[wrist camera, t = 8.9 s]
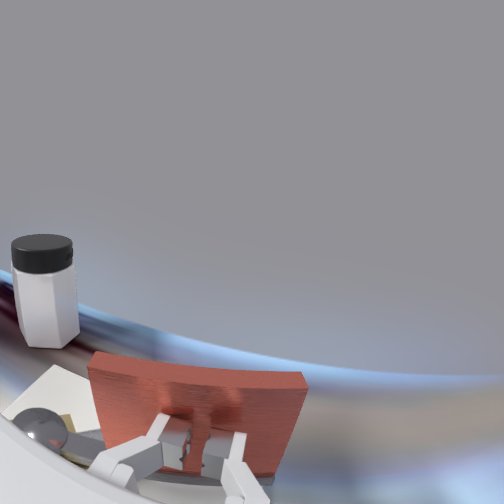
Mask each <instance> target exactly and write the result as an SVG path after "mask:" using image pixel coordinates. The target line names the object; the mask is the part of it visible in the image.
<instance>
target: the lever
mask: <svg viewBox="0 0 504 504" xmlns="http://www.w3.org/2000/svg"><path fill="white" fill-rule="evenodd" d="M87 369H88V375H89V380H90V385H91V390H92V395H93V400H94V404H95V408H96V412H97V416H98V420H99V424H100V428H101V432H102V435H103V438H104V441H100V440H97V439H93V438H89V437H86V436H82V435H79V434H75V433H72V432H69V431H68V430H67V427H66V424H65V422H64V421H63V419H62V418H61V417H60V416H59V415H58V414H57V413H55V412H53V411H51V410H49V409H46V408H39V407H38V408H29V409H26V410H23V411H21V412H20V413H19V414H17V415H16V416H15V418H14V419H13V421H12V423H13V424H14V425H16V426H17V427H18V428H20V429H21V430H22V431H24V432H25V433H26V434H28V435H29V436H30V437H32V438H33V439H35V440H36V441H38V442H39V443H41V444H42V445H44V446H45V447H47V448H48V449H50V450H51V451H53V452H54V453H56V454H58V455H59V456H61V457H63V458H64V459H67V460H70V461H73V462H77V463H80V464H83V465H86V466H91V464H92V463H93V461H94V460H95V459H96V457H97V456H98V454H99V453H100V452H102V451H105V450H108V449H110V448H113V447H116V446H118V445H121V444H123V443H126V442H128V441H130V440H133V439H135V438H138V437H140V436H146V434H147V433H148V431H149V429H150V427H151V426H152V424H153V422H154V420H155V419H156V417H157V415H158V414H159V413H163V414H167V415H170V416H173V417H176V418H180V419H183V420H186V421H190V422H193V423H194V429H193V432H192V433H193V434H194V436H193V443H192V447H191V450H190V453H188V454H187V460H186V463H185V466H184V468H183V471H182V470H178V469H174V468H171V467H167V466H164V465H163V467H161V468H160V469H158V470H157V471H155V472H153V473H152V474H150V475H148V476H147V477H145V478H143V479H147V480H154V481H161V482H168V483H177V484H187V485H200V486H222V484H221V480H217V479H213V478H209V477H205V476H201V467H202V464H203V463H202V455H203V450H204V447H205V444H206V441H208V438H209V432H210V429H211V427H215V428H220V429H225V430H230V431H235V432H241V433H246V434H247V438H246V444H245V449H244V455H243V460H242V462H246V464H247V465H248V467H249V469H250V470H251V472H252V473H253V475H254V476H255V478H256V480H257V481H258V483H259V484H260V486H268V485H272V483H273V481H274V478H275V476H274V474H275V472H276V470H277V468H278V465H279V463H280V461H281V459H282V456H283V454H284V452H285V449H286V447H287V444H288V442H289V439H290V437H291V434H292V432H293V429H294V427H295V424H296V422H297V419H298V416H299V414H300V411H301V408H302V406H303V403H304V400H305V397H306V395H307V392H308V389H309V388H308V385H307V383H306V381H305V379H304V377H303V375H302V373H301V372H275V371H247V370H230V369H217V368H205V367H195V366H186V365H177V364H170V363H162V362H155V361H149V360H142V359H136V358H130V357H125V356H119V355H114V354H109V353H104V352H99V351H96V352H95V353H94V355H93V357H92V359H91V360H90V362H89V364H88V366H87Z"/></svg>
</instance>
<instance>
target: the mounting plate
mask: <svg viewBox="0 0 504 504" xmlns="http://www.w3.org/2000/svg"><path fill="white" fill-rule="evenodd" d="M38 407H39V408H46V409H49V410H51V411H53V412H55V413H57V414H58V415H64V414H70V415H71V418H72V421H73V424H74V427H75V430H76V432H82V431H87V430H93V429H98V428H100V424H99V420H98V416H97V412H96V408H95V404H94V400H93V395H92V390H91V385H90V380H88V379H85V378H83V377H81V376H79V375H76V374H74V373H72V372H70V371H67V370H65V369H63V368H61V367H59V366H57V365H55V364H54V365H53V366H52V367H51V368H50V369H49V370H47V371H46V372H45V373H44V374H43V375H42V376H41V377H40V378H38V379H37V380H36V381H35V382H34V383H33V384H32V385H31V386H30V387H29V388H27V389H26V390H25V391H24V392H23V393H22V394H21V395H20V396H19V397H18V398H17V399H15V400H14V401H13V402H12V403H11V404H10V405H9V406H8V407H7V408H6V409H5V410H4V411H3V412H2V413H1V414H2V415H3V416H4V417H6V418H7V419H8V420H13V419H14V418H15V416H16V415H17V414H19V413H20V412H21V411H23V410H26V409H29V408H38ZM137 485H138V489H139V492H140V495H142V496H145V497H148V498H151V499H154V500H157V501H160V502H163V503H166V504H225V501H226V497H227V495H226V492H225V490H224V488H223V486H200V485H187V484H177V483H168V482H161V481H154V480H147V479H142V480H140V481H138V482H137ZM261 487H262V489H263V486H261Z"/></svg>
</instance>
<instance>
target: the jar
mask: <svg viewBox="0 0 504 504" xmlns="http://www.w3.org/2000/svg"><path fill="white" fill-rule="evenodd" d="M11 252H12V262H11V268H12V279H13V288H14V296H15V303H16V309H17V315H18V320H19V326H20V330H21V332H22V334H23V336H24V338H25V340H26V342H27V344H28V346H29V347H38V348H55V349H61V348H63V347H64V346H65V345H66V344H67V343H69V342H70V341H71V340H72V339H73V338H74V337H76V336H77V335H78V334H79V333H80V327H79V317H78V306H77V292H76V291H77V290H76V265H75V264H74V263H73V262H72V257H73V248H72V241H71V239H69V238H67V237H64V236H60V235H53V234H52V235H51V234H35V235H27V236H23V237H19V238H17V239H15V240H14V241H13V242H12V244H11Z"/></svg>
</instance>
